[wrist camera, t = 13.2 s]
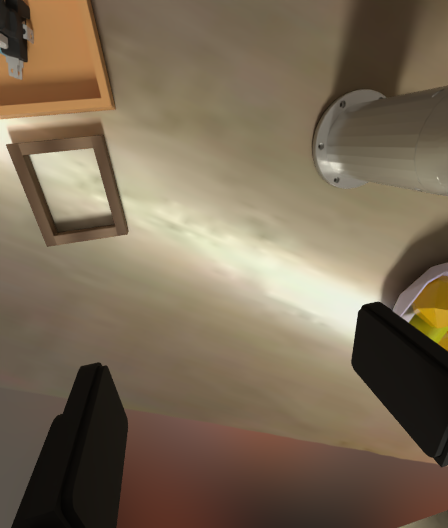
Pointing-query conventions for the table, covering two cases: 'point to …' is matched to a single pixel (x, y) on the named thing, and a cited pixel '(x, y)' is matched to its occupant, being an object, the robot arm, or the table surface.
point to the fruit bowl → (427, 304)
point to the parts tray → (58, 64)
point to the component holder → (37, 198)
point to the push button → (14, 34)
